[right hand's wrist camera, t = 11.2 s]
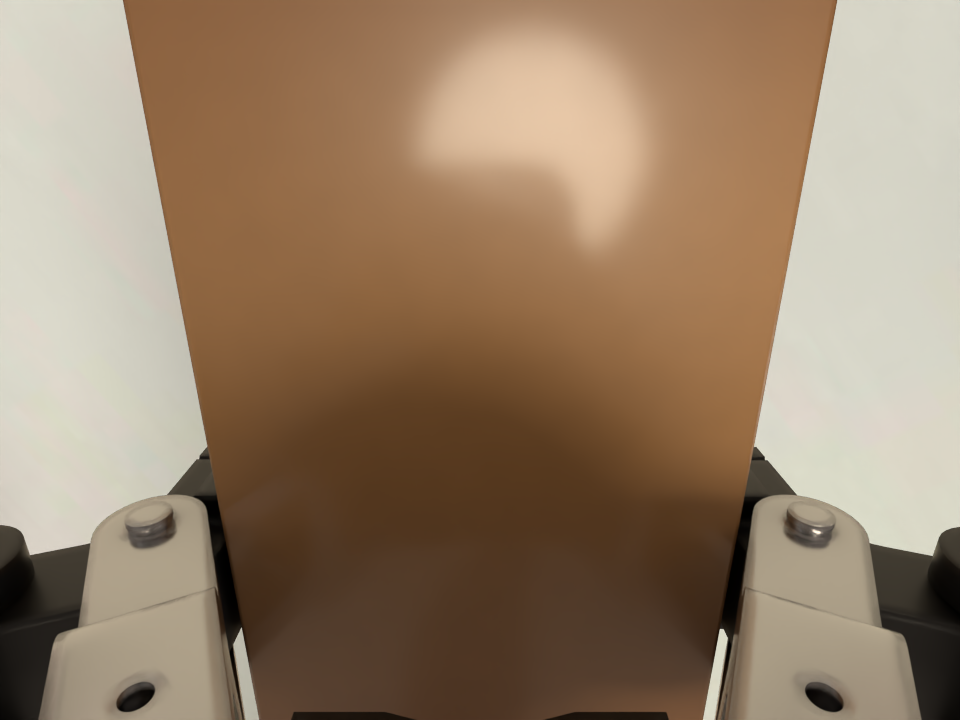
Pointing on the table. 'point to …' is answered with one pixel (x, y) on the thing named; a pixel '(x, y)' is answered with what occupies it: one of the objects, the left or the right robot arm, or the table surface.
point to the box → (480, 330)
